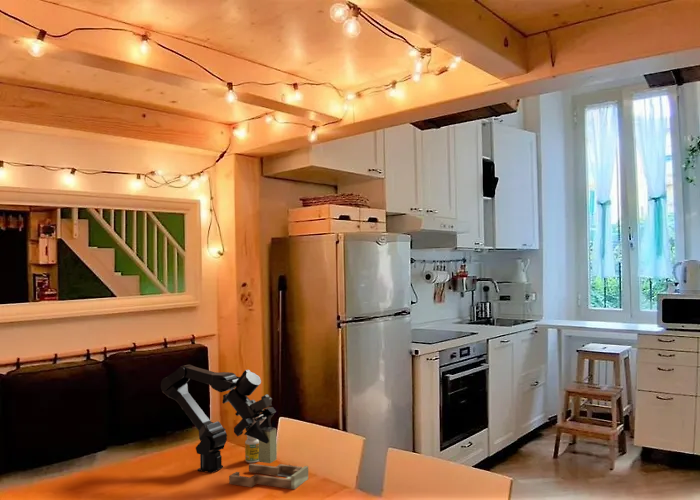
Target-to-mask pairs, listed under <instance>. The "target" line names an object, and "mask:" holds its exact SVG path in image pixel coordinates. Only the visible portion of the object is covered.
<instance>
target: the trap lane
mask: <svg viewBox="0 0 700 500" xmlns="http://www.w3.org/2000/svg"><path fill="white" fill-rule="evenodd" d="M248 472H249V473H254V475H252V476H251V477H250V476H242V475H240V471H235V472H234V473H232V474H230V475H229V476H228V484H229V485H236V486H242V487H248V488H252V487H254V486H256V485H262V486H269V487H275V488H284V489H290V490H296V489H297V488H298V487H300V486H301V485H302V484H303V483H305V482H306V481H307V480H309V466H308V465H304V466H303V467H302V466H298V465H290V464H283V463H280V464H278V465H277V466H271V465H264V464H258V463H256V464H255V463H249V464H248Z"/></svg>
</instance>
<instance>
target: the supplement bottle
mask: <svg viewBox="0 0 700 500" xmlns="http://www.w3.org/2000/svg"><path fill="white" fill-rule="evenodd" d="M244 446H245V447H244V453H245V454H244V455H245V456H244V457H245V462H246V463H249V464H255V463H257V462H258V463H259V440H258V439H255V438H253V437H251V436H248V435H246V440H245V442H244Z"/></svg>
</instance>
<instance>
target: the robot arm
mask: <svg viewBox="0 0 700 500" xmlns="http://www.w3.org/2000/svg"><path fill="white" fill-rule="evenodd" d="M190 380H193V381H196V382H199V383H202V384H203V383H204V384H206V385H209V386H210V387H211V389H213V390H215V391H216V392H218V393H224V392H227V391H229V392H227V393H225V394H223V395H222V404H227V403H229V404H230V405H231V406H232V408H233V409H234V410H235V411H236V412H235V414H234V415H235V416H236V417H238V416H239V417H241V419H240V421H239V422H238V423H237V424H236V425H235V426H234V427H233V433H234V434H235V435H236V437H239V436H241V435H242V434H244V435H245V436H247V435H248V436H251V437H253V438H255V439H258V440H260V441H262V442H264V443H266V444H267V443H268V442H269V440H268V439H267V437H266V435H265V434H264V432H263V431H262V428H264V427H273V426H272V423H271V420H272V417H273V416H274V415H275V413H277V410H276V409H275V408H274V407H273V404H272V401H273V398H272V397H271V396H270V395H269V394H265V395H261V399H259V400H257V401H256V400H255V399H250V398H249V397H248V396H251V395H252V394H253V393H254V392H255V391H256V390H257V388H258V387H259V386H260V385H261V383H262V380H261V377H260V376H259V375H257V374H256V373H255V372H252V371H251V370H250V369H245V370H244V371H243V372H242V374H241V375H240V376H238V375H236V373H234V372H232V371H231V372H227V371H226V372H225V371H223V372H217V371H216V372H215V371H213V370H209V369H205V368H201V367H197V366H194V365H192V364H186V365H181V366H179V368H177V369H176V370H175V371H174V372H172V373H170V374H169V375H167V376H166V377H163V378H162V379H161V381H160V389H161V392H162V393H163V394H165V396H166V397H168V398H170V399H172V400H173V401H176V402H177V404H178V405H179V406H180V407H181V410H182V411H183V412H184V413H185V414H186V415H187V417H188V419H189V420H190V421H191V422H192V424H193V425H194V426H195V428H196V429H197V430H198V439H199V440H200V442H199V443H198V444H197V445H196V446H195V451H196V454H197V455H200V457H199V459H200V460H199V461H200V465H199V466H200V467H199V468H197V471H198V472H203V473H204V472H205V473H210V474H211V473H212V474H214V473H216V472H217V471H219V470H221V469H222V468H224V465H222V463H223V461H222V455H221V450H224V448H225V446H226V443H227V439H228V438H227V437H228V435H227V432H226V430H227V429H226V428H224V427H223V425H222V424H221V422H220V421H214V422H212V421H211V420H210V418H209V417H208V416H207V414H205V412H204V411H203V409H202V408H201V407H200V406H199V404H198V403H197V402H196V400H195V399H194V398H193V396H192V395H191V393H189V386H188V382H189V381H190ZM244 430H245V431H246V432H245V433H244Z"/></svg>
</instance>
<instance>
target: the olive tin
mask: <svg viewBox="0 0 700 500" xmlns="http://www.w3.org/2000/svg"><path fill="white" fill-rule="evenodd" d="M262 431H263V432H264V434H265V435H266V437H267V439H268V440H269V442H268V443H267V444H266V443H264V442H262V441H260V440H259V461H258V463H265V464H271V463H273V462H275V461H276V460H277V457H278V456H277V428H276V427H273V426H272V427H264V428H262Z"/></svg>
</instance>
